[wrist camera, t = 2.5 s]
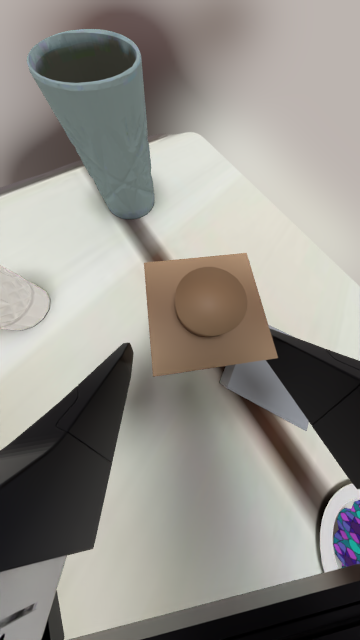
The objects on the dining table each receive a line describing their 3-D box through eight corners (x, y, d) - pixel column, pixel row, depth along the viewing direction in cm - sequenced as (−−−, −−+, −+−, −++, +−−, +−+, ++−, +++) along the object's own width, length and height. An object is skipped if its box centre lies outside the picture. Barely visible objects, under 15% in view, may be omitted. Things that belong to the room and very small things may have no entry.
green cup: (168, 195, 24) (160, 47, 12) (137, 232, 22) (92, 94, 10) (123, 175, 25) (77, 19, 13) (90, 208, 23) (-3, 56, 11)
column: (203, 352, 17) (298, 359, 4) (170, 357, 17) (148, 382, 4) (197, 320, 18) (257, 237, 5) (166, 324, 18) (138, 247, 5)
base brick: (286, 418, 16) (306, 431, 13) (219, 382, 16) (226, 388, 14) (303, 351, 18) (324, 351, 15) (243, 322, 18) (253, 317, 16)
